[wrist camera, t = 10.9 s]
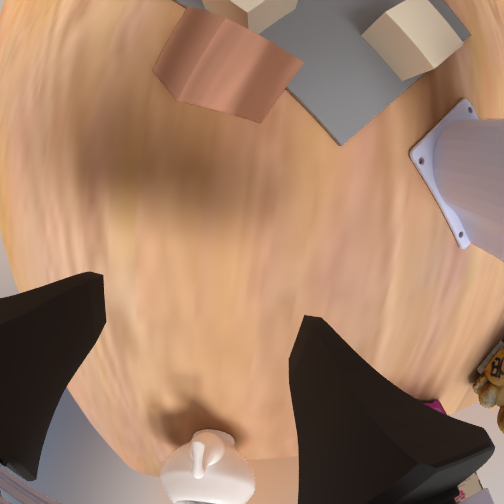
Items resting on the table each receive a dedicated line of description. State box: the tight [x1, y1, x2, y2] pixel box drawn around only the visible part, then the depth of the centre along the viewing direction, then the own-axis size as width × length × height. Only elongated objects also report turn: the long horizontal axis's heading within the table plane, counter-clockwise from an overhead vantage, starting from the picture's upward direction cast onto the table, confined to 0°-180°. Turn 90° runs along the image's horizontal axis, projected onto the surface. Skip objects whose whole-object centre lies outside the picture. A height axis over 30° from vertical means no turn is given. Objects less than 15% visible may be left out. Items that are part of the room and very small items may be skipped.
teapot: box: [160, 429, 255, 504], centre depth 22 cm, size 10×20×9 cm, turn 177°
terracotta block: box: [153, 6, 304, 123], centre depth 11 cm, size 4×4×5 cm
